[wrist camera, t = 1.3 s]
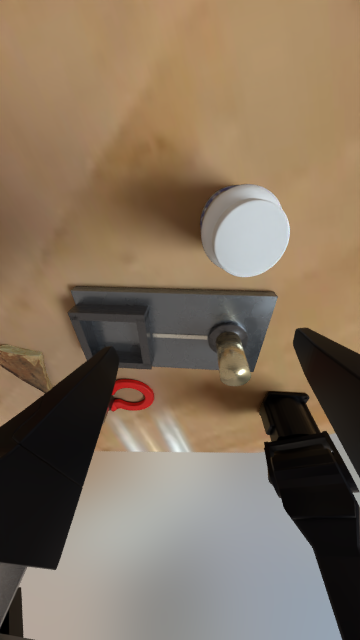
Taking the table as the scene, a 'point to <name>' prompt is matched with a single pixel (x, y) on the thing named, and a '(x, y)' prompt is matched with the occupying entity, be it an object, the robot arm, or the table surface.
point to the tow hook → (119, 403)
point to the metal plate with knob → (175, 327)
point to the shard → (25, 366)
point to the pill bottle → (244, 229)
